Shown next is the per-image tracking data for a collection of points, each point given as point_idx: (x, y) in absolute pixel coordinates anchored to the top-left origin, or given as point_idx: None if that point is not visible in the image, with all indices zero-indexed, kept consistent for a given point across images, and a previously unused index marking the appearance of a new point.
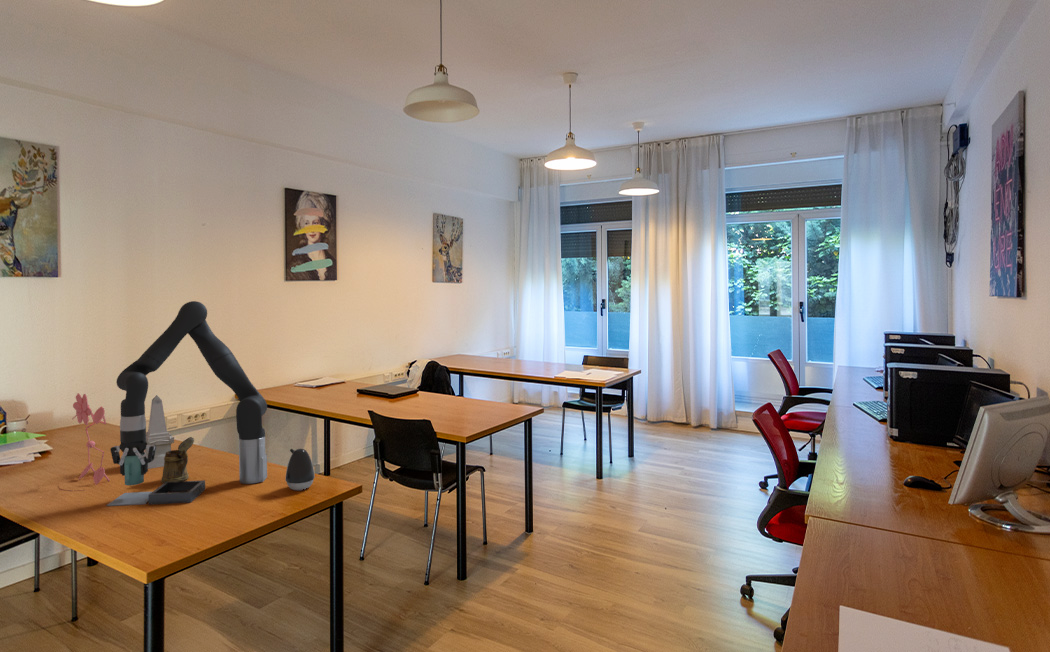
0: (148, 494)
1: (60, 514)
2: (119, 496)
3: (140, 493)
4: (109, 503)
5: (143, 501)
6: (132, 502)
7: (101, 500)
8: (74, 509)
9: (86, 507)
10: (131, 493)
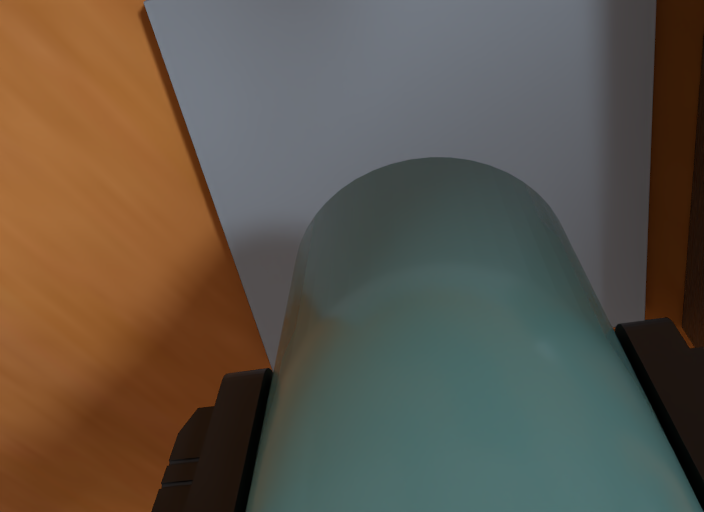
0: (533, 53)
1: (54, 499)
2: (195, 143)
3: (391, 15)
4: (267, 338)
5: (598, 283)
6: None
7: (71, 225)
8: (53, 423)
9: (111, 386)
10: (262, 24)
